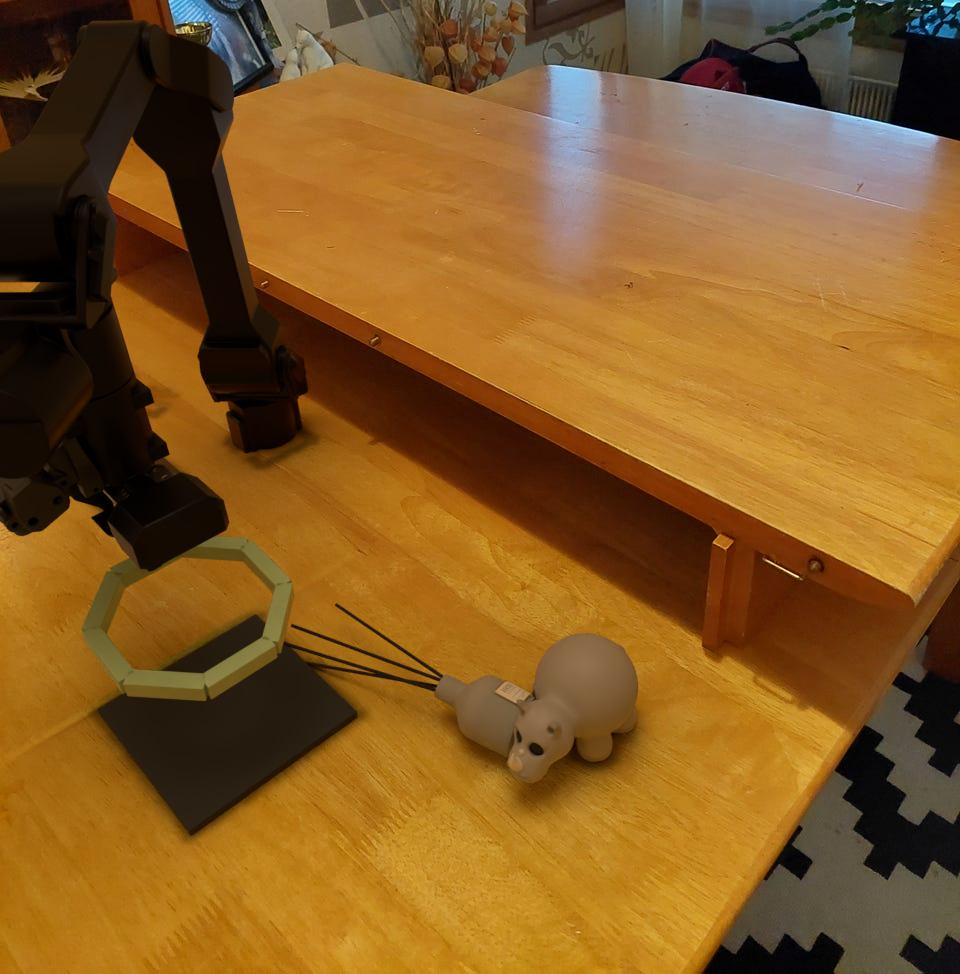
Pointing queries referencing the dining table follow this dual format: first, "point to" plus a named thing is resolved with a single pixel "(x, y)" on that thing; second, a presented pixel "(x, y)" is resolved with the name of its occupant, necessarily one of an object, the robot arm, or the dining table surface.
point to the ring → (182, 682)
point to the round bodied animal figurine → (574, 705)
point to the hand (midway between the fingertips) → (149, 562)
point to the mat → (227, 728)
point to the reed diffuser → (450, 693)
